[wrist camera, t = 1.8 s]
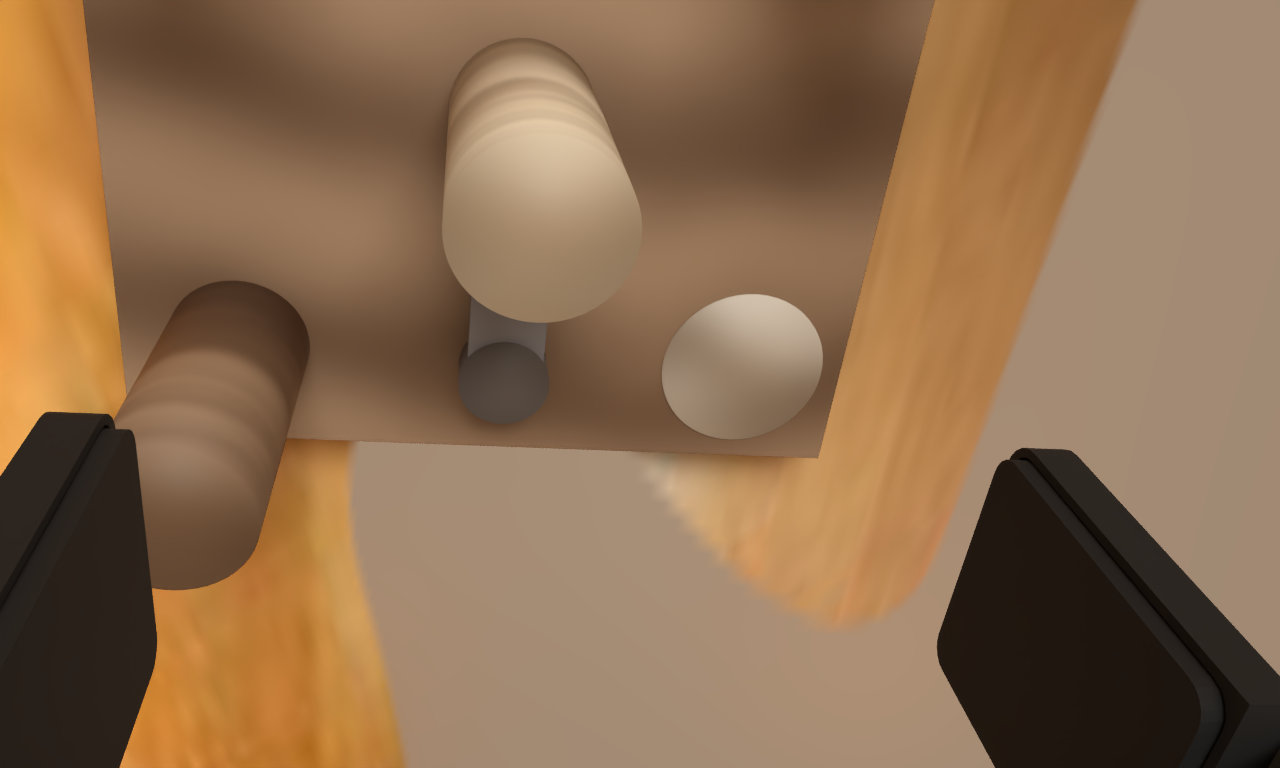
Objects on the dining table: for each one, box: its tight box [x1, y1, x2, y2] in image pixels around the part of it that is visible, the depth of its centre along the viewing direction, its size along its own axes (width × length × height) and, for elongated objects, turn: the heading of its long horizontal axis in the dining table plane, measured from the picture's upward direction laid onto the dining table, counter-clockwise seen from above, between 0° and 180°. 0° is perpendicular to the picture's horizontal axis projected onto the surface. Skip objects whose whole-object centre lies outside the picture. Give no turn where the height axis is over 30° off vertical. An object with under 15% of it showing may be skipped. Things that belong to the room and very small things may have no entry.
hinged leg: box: [442, 38, 642, 424], centre depth 24 cm, size 10×4×8 cm, turn 172°
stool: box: [83, 0, 934, 590], centre depth 24 cm, size 20×20×10 cm
